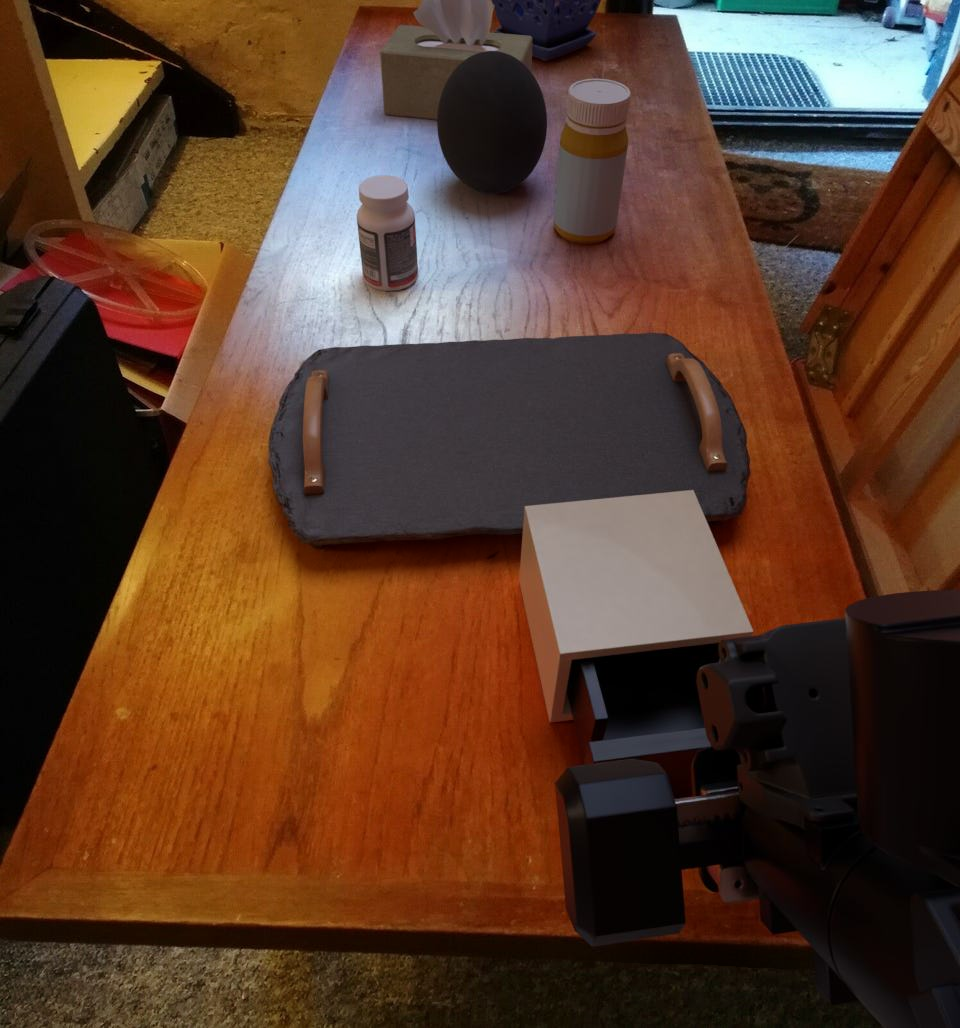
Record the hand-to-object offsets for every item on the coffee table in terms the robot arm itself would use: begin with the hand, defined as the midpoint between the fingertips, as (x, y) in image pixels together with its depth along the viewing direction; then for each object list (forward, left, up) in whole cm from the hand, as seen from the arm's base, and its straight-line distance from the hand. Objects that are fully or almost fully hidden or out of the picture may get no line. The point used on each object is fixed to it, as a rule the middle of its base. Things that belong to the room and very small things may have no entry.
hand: (718, 753), depth 41 cm
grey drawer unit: (+14, -2, -11) cm, 18 cm away
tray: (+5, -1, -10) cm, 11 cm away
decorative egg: (+77, -14, -12) cm, 79 cm away
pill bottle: (+62, +2, -12) cm, 63 cm away
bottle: (+65, -22, -12) cm, 70 cm away
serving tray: (+34, -2, -11) cm, 36 cm away
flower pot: (+117, -36, -12) cm, 123 cm away
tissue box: (+100, -18, -12) cm, 102 cm away
